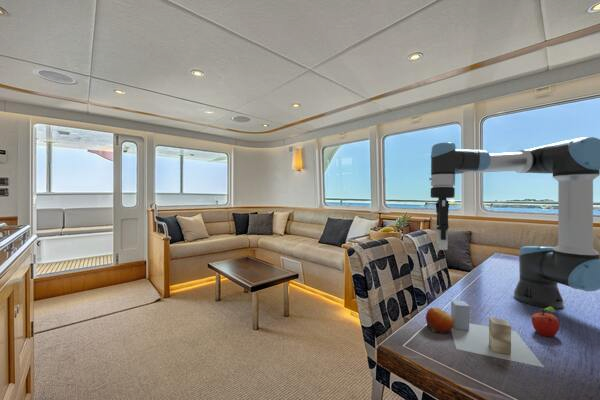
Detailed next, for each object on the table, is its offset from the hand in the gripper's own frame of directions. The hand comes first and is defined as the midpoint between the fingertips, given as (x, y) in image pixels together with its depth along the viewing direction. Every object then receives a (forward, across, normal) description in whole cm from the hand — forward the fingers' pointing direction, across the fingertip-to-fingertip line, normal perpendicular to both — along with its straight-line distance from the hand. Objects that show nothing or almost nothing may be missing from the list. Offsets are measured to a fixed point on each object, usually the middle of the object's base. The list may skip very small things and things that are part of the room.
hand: (441, 246), depth 91 cm
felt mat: (+26, +11, +12) cm, 30 cm away
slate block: (+25, +6, +5) cm, 27 cm away
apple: (+26, -1, +29) cm, 39 cm away
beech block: (+25, +16, +14) cm, 33 cm away
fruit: (+26, +10, -1) cm, 28 cm away
